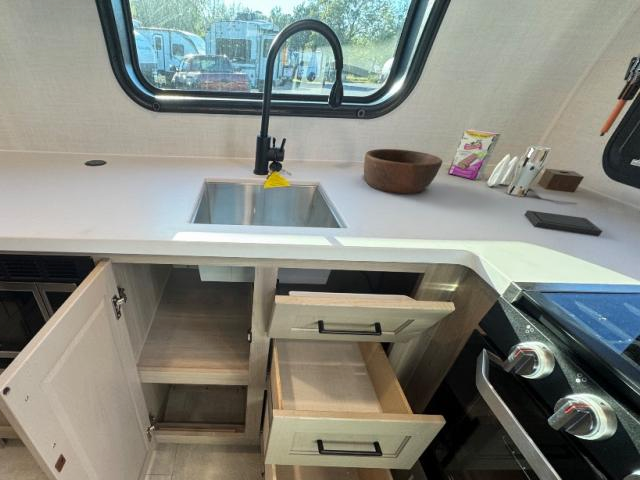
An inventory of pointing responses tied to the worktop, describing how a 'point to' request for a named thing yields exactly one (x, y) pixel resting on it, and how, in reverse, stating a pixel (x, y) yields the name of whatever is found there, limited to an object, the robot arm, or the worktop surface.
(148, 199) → the worktop surface
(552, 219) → the screen
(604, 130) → the stylus
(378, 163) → the wooden bowl
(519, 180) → the beer glass
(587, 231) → the tablet
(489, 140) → the candy bar box
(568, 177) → the stand
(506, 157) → the shaker set
